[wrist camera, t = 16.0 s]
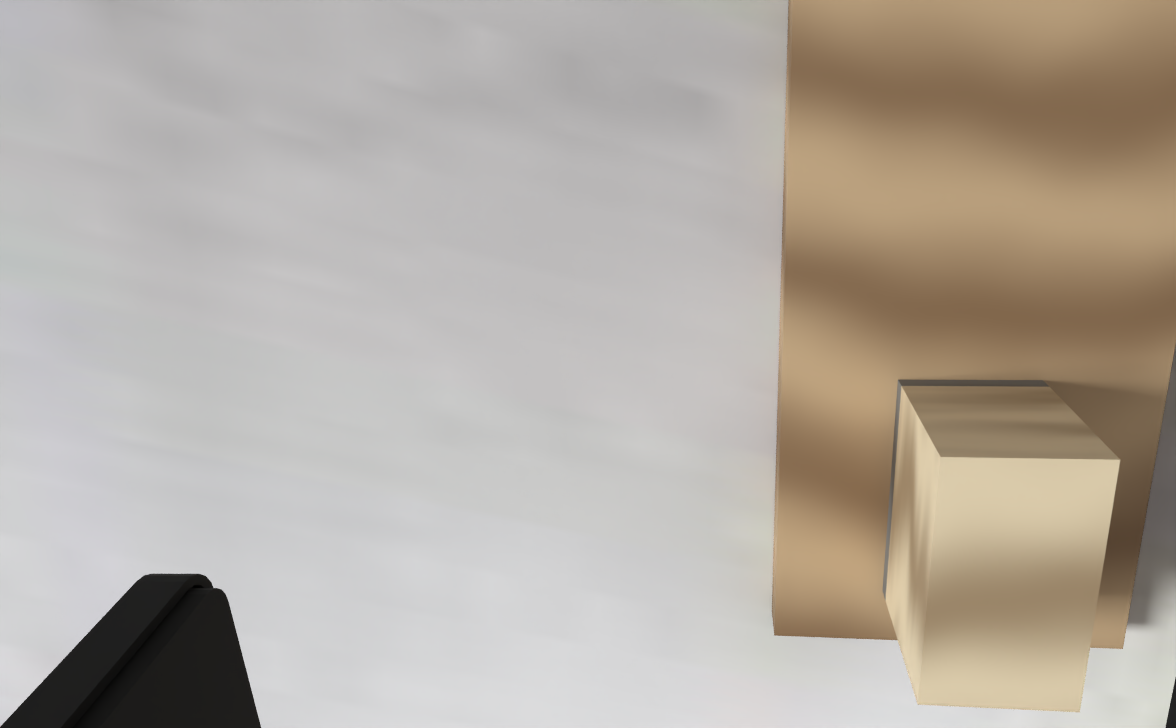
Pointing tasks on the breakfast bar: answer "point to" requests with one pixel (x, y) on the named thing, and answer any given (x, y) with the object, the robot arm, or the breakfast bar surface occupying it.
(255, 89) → the breakfast bar surface
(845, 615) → the plank
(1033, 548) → the block
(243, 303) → the breakfast bar surface
